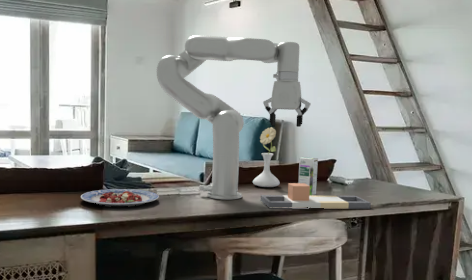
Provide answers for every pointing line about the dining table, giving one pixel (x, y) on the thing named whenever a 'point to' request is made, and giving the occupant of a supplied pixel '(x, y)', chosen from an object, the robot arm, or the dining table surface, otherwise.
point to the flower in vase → (267, 161)
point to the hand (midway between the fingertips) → (285, 125)
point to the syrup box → (308, 172)
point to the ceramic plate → (119, 197)
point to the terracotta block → (298, 191)
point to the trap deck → (317, 202)
